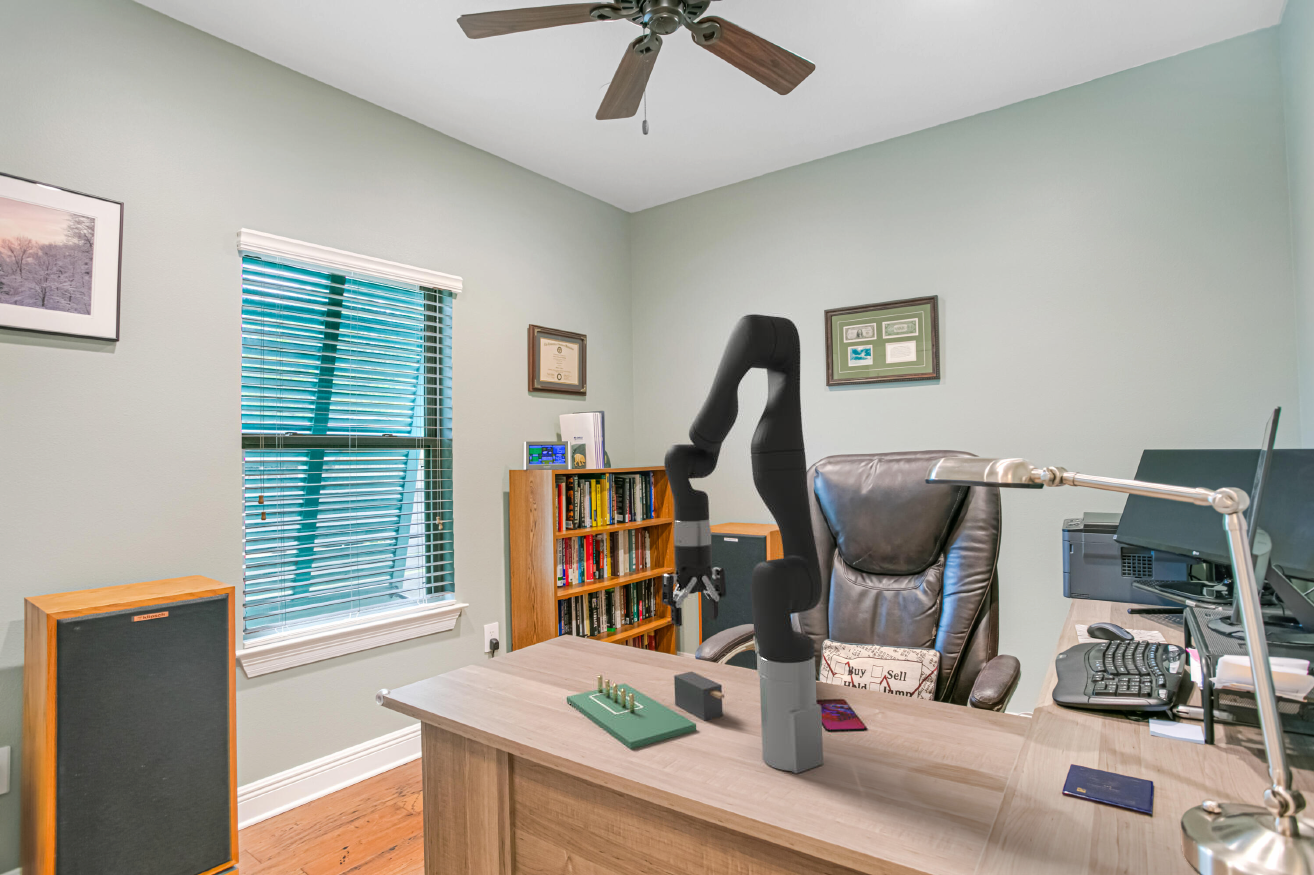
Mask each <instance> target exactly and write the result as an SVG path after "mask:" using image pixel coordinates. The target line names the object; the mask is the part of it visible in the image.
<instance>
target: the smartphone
mask: <svg viewBox="0 0 1314 875" xmlns="http://www.w3.org/2000/svg"><path fill="white" fill-rule="evenodd" d="M816 703H817V704H819V705H820V706H821V716H822V729H824V730H825V732H828V733H835V732H836V733H837V732H841V733H843V732H844V733H845V732H864V731H867V726H866V725H865V724H864V723H863V721H862V720H861V719H860V717H859V716H858V714H856V712H855V711H854V709H853V708H852V707H851V706H850V705H849V703H848V702H847V700H846V699H844V698H831V699H830V698H828V699H827V698H825V699H816Z"/></svg>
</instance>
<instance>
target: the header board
mask: <svg viewBox="0 0 1314 875" xmlns="http://www.w3.org/2000/svg"><path fill="white" fill-rule="evenodd" d="M617 685H618V703H613V685H612V686H611V685H610V698H606V697H605V687H603V693H598V689H595V690H590V691H586V692H581V693H576V694H572V695H569V696H568V695H567V696H566V703H567V702H568V703H570V704H571V705H572V706H573V707H572V706H571V705H570V704H569V705H570V706H571V707H572V708H574V707H575V708H576V709H577V710H576V709H575V708H574V709H575V710H576V711H578V710H579V711H580V712H581V713H580V712H579V711H578V712H579V713H580V714H582V715H583V714H584V715H583V716H585V717H586V718H587V719H588V720H590V721H591V720H592V721H591V722H593V723H594V724H596V725H597V726H598V725H599V726H598V727H599V728H601V729H602V728H603V729H602V730H604V731H605V730H606V731H607V733H608V734H609V735H611V736H612V737H613V738H615V739H616V740H618V741H619V742H620V743H621V744H623V745H624V746H626V748H628V749H630V750H633V749H635V748H639V747H642V746H647V745H650V744H653V743H657V742H658V743H659V742H661V741H664V740H666V739H670V738H674V737H678V736H681V735H685V734H689V733H693V732H696V731H697V723H696V722H694V721H692V720H691V719H688V718H687V717H686V716H684V715H681V714H680V713H677V712H676V711H675V710H672V709H671V708H669V707H668V706H665V705H664V704H662V703H660V702H659V701H656V700H655V699H653V698H651V697H649V696H648V695H646V694H645V693H643V692H640V691H639V690H637V689H635V688H633V687H632V686H630V685H628V684H626V683H621V684H617ZM621 689H626V708H621ZM629 694H634V706H635V713H630V709H629ZM568 703H567V704H568ZM606 731H605V732H606Z"/></svg>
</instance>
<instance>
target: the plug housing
mask: <svg viewBox="0 0 1314 875" xmlns="http://www.w3.org/2000/svg"><path fill="white" fill-rule="evenodd" d="M673 677H674V678H673V679H674V705H675V706H677V707H678V708H680V709H682V710H683V711H685V712H687V713H689V714H691V715H693V716H695V717H696V718H698V719H700V720H702V721H703V722H706V721H708V720H712V719H716V718H719V717H723V715H724V714H723V699H724V698H725V694H724V693H723V692H722V689H723V688H722V684H721V683H718V682H716V681H714V680H711V679H710V678H707V677H705V676H703V675H700V674H698V673H696V672H694V671H688V672H684V673H678V674H676V675H674V676H673Z"/></svg>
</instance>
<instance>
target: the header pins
mask: <svg viewBox="0 0 1314 875" xmlns="http://www.w3.org/2000/svg"><path fill="white" fill-rule="evenodd" d="M604 684H605V685H604V687H603V675H600V674H599V675H597V690H598V693H603V688H605V697H606V698H610V687H611V680H610V679H605V680H604ZM618 685H619V684H618V683H613V684H612V686H613V703H618ZM621 708H626V689H621ZM629 709H630V713H635V706H634V694H629Z"/></svg>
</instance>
